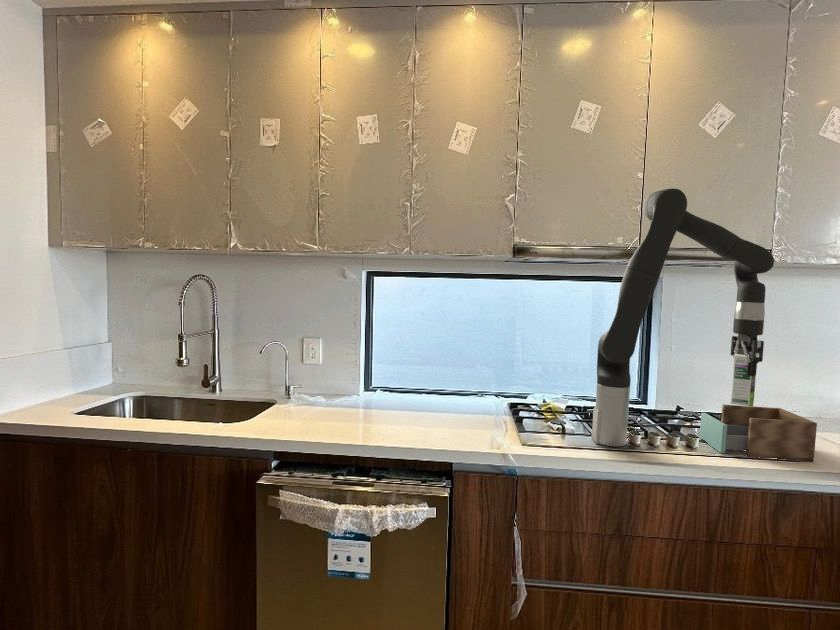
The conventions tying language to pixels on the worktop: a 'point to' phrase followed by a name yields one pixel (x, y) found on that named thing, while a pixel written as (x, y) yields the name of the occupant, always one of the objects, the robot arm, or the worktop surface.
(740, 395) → the syrup box
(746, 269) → the robot arm
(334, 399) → the worktop surface
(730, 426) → the mint green drawer
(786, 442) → the wooden storage crate
